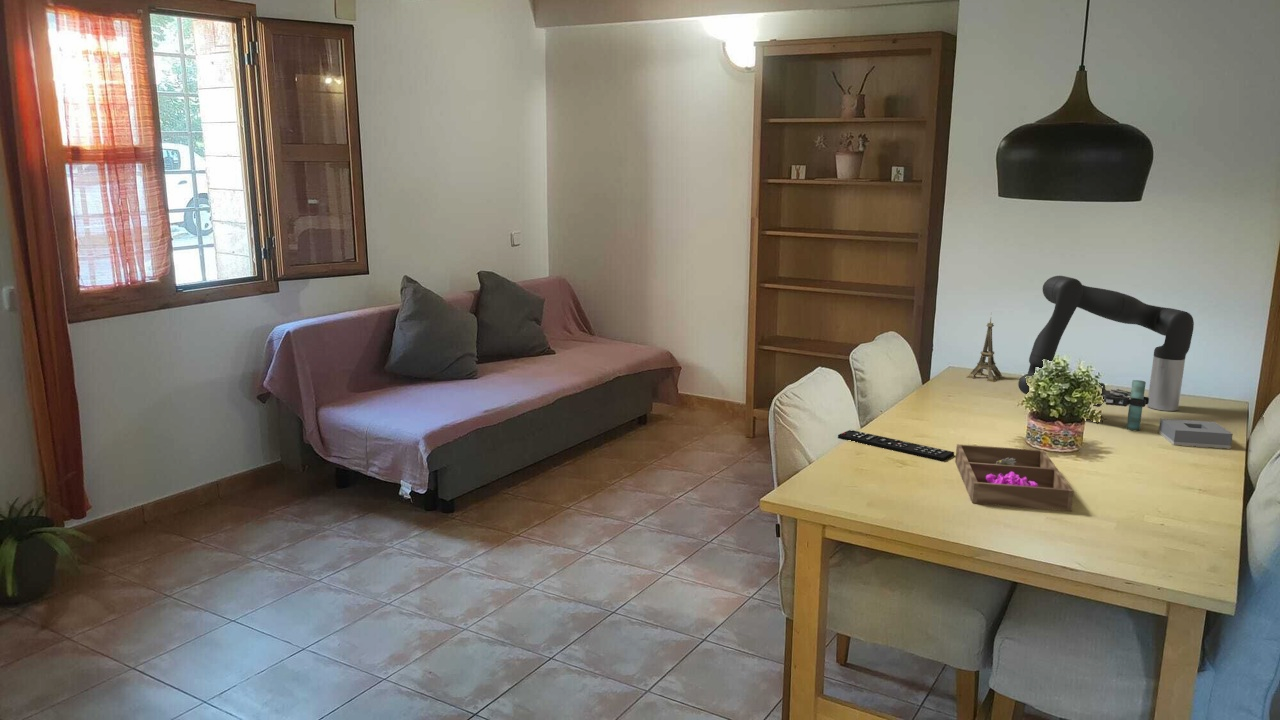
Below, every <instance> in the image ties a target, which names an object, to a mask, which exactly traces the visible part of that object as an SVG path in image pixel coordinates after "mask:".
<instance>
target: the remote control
mask: <svg viewBox="0 0 1280 720" xmlns="http://www.w3.org/2000/svg"><path fill="white" fill-rule="evenodd" d="M837 439H840V440H843V441H844V440H845V441H848V440H851V441H850V442H852V441H855V442H854V443H857V442H858V443H857V444H861V443H862V444H863V445H866V444H867V445H866V446H870V445H871V447H875V448H878V449H883V448H884V449H883V450H889V451H892V450H893V451H894V452H897V453H900V454H901V453H902V454H907V455H912V456H915V457H920V458H924V459H928V460H933V461H938V462H941V463H942V462H944V461H946V460H949V459H950V458H952V457H954V456H955V451H951V450H946V449H942V448H937V447H933V446H928V445H922V444H918V443H914V442H908V441H904V440H900V439H895V438H890V437H886V436H882V435H877V434H871V433H867V432H861V431H858V430H854V429H853V430H852V429H849V430H846V431H844V432H842V433H839V434H837ZM862 444H861V445H862Z"/></svg>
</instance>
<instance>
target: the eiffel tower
mask: <svg viewBox="0 0 1280 720" xmlns="http://www.w3.org/2000/svg"><path fill="white" fill-rule="evenodd" d="M990 313H991V314H992V312H990ZM994 326H995V325H994V323H992V318H990V320H989V322H987V324H986V327H987V330H986V335H985V340H984V343H983V348H982V350H981V351H980V354H981V355H980V357H979V361H978V362H976V364H977V365H976V366H975V367H974V368H973V369H972V370H971V371H970V373H969V375H966V378H967V379H976V378H977V375H978V376H982V375H984V370H985V371H987V379H986V381H987V382H991V383H994V382H996V381H997V379H1004V378H1005V376H1003V375H1002V372H1001V371H1000V369H998V366H997V365H996V364H997V363H996V361H995V359H994V358H995V357H994V355H995V351H994V348H993V327H994ZM986 360H987V361H986Z"/></svg>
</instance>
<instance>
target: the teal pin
mask: <svg viewBox="0 0 1280 720" xmlns="http://www.w3.org/2000/svg"><path fill="white" fill-rule="evenodd" d="M1146 382H1147V381H1144V380H1138V379H1134V380H1132V382H1131V388H1130V389H1131V390H1130V392H1131V395H1130V396H1129V397H1132V398H1138V399H1144V397H1145V390H1146V384H1147V383H1146ZM1142 412H1143V407H1140V406H1133V405H1131V406H1128V413H1127V420H1126V428H1127V429H1126V428H1125V429H1126V430H1128V429H1130V430H1129V431H1133V430H1139V431H1140V428H1141V420H1142V415H1143V414H1142Z"/></svg>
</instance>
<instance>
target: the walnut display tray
mask: <svg viewBox="0 0 1280 720" xmlns="http://www.w3.org/2000/svg"><path fill="white" fill-rule="evenodd" d="M1006 458H1009V459H1010V458H1013V459H1015V460H1014V461H1016V463H1013V464H1015V465H1001V464H996V462H997V461H1001V460H1002V459H1004V460H1005V459H1006ZM1009 459H1008V460H1009ZM1008 460H1007V461H1008ZM1014 461H1012V462H1014ZM954 462H955V465H956V467H957V469H958V472H959V474H960V477H961V480H962V482H963V485H964V487H965V489H966V491H967V494H968V497H969V499H970V501H971V503H972V504H977V505H989V506H1002V507H1015V508H1027V509H1037V510H1038V509H1041V510H1050V511H1052V510H1053V511H1064V512H1072V511H1073V508H1072V507H1073V499H1074V493H1075V491H1074V489H1073V488H1072V487H1071V485H1070V484H1069V483H1068V480H1066V479H1065V477H1064V476H1063V474H1062V473H1061V472H1060V470H1059V469H1058V467H1057V466H1056V465H1055V464H1054V462H1053V461H1052V460H1051V458H1050V457H1049V455H1048V454H1047V453H1046V451H1045V449H1044V450H1042V449H1028V448H1016V447H1015V448H1014V447H1003V446H1002V447H1001V446H988V445H975V444H974V445H973V444H972V445H971V444H959V443H957V444H956V450H955V459H954ZM1009 472H1014V473H1015V474H1017V475H1019V477H1020V478H1021V479H1022V478H1023V477H1026V478H1027V483H1028V481H1034V482H1035V483H1037V484H1038V487H1035V486H1022V485H1009V484H996V483H990V482H987V480H986V475H989V474H992V475H995V476H996V478H995V479H994V480H996V479H997V477H998V475H999V474H1000V473H1001V474H1003V476H1005V475H1006V474H1008V475H1009ZM1007 479H1009V478H1007ZM1015 480H1017V478H1015ZM1015 484H1017V483H1015ZM1028 484H1029V483H1028Z"/></svg>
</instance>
